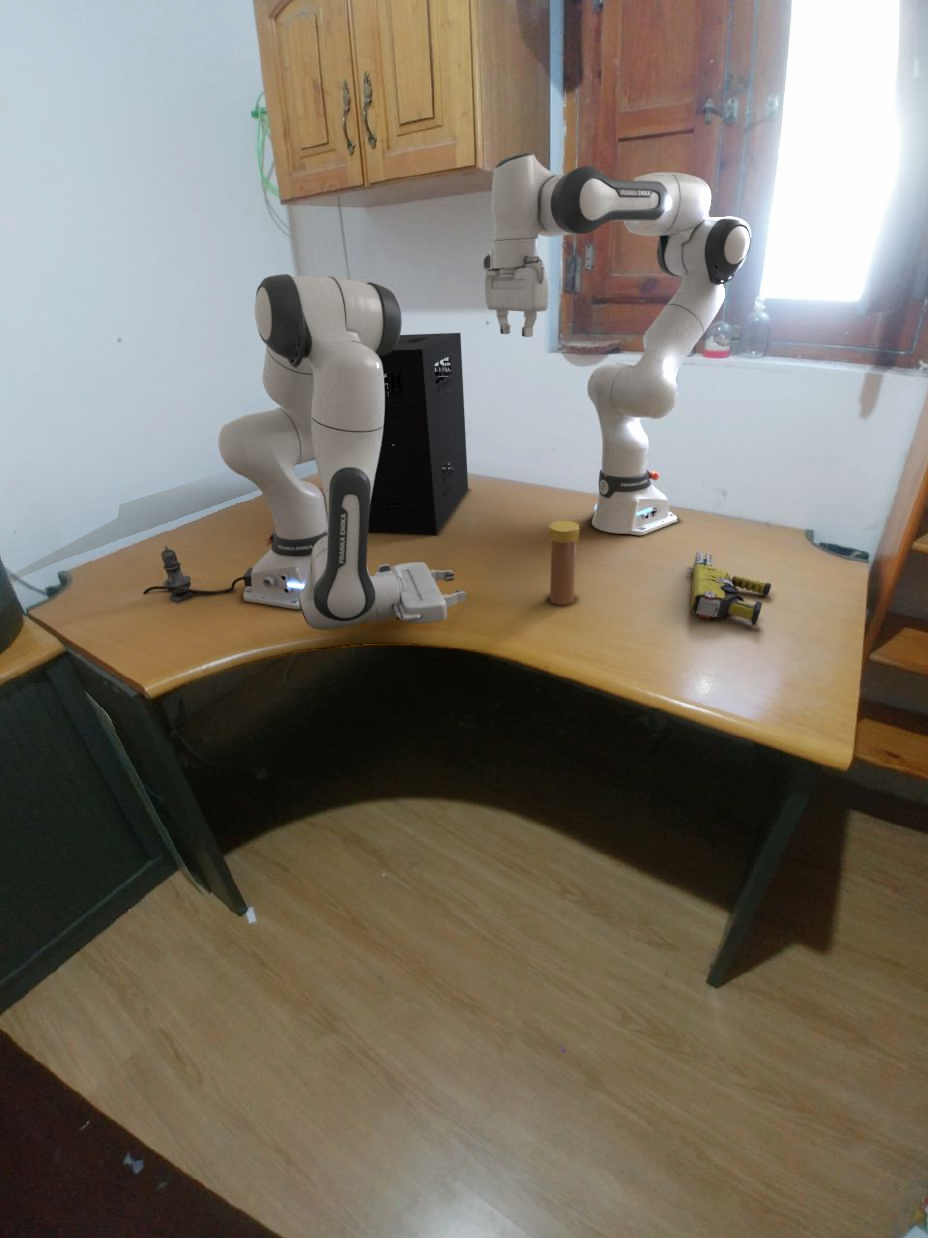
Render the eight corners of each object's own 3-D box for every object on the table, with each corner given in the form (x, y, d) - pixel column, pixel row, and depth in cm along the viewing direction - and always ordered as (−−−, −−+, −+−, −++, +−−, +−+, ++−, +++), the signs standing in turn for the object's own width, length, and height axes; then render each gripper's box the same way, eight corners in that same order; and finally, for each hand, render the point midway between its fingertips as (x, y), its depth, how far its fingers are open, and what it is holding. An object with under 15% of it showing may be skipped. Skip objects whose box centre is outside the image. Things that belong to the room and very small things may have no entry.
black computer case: (436, 534, 159) (422, 349, 137) (364, 531, 164) (339, 351, 141) (468, 489, 191) (460, 332, 168) (407, 487, 195) (391, 335, 173)
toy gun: (769, 561, 128) (696, 549, 132) (782, 610, 108) (695, 594, 112) (763, 581, 130) (691, 569, 134) (774, 633, 110) (689, 616, 114)
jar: (575, 595, 126) (578, 524, 119) (571, 606, 122) (574, 533, 115) (552, 592, 128) (554, 522, 120) (547, 603, 124) (549, 531, 116)
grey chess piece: (185, 602, 132) (169, 552, 126) (162, 601, 134) (144, 551, 128) (200, 590, 137) (185, 541, 131) (177, 588, 139) (162, 540, 133)
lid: (581, 532, 120) (581, 521, 119) (576, 544, 115) (576, 532, 114) (552, 530, 121) (552, 519, 120) (546, 541, 117) (546, 530, 116)
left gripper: (395, 606, 104) (472, 592, 107) (379, 561, 121) (446, 550, 124) (399, 637, 107) (474, 623, 110) (383, 589, 124) (448, 578, 127)
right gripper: (557, 254, 111) (556, 336, 118) (505, 258, 127) (506, 331, 134) (528, 255, 109) (527, 339, 116) (478, 260, 125) (481, 333, 132)
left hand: (459, 584), depth 117 cm, fingers open, 8 cm apart
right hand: (516, 335), depth 125 cm, fingers open, 8 cm apart
